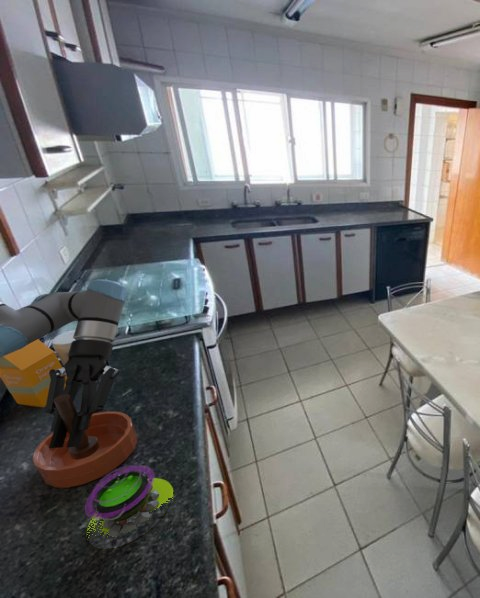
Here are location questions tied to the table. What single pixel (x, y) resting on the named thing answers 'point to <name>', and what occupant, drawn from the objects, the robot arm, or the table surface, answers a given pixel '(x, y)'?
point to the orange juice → (29, 373)
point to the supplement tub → (63, 345)
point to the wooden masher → (68, 414)
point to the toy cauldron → (127, 500)
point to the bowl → (112, 452)
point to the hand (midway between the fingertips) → (64, 447)
